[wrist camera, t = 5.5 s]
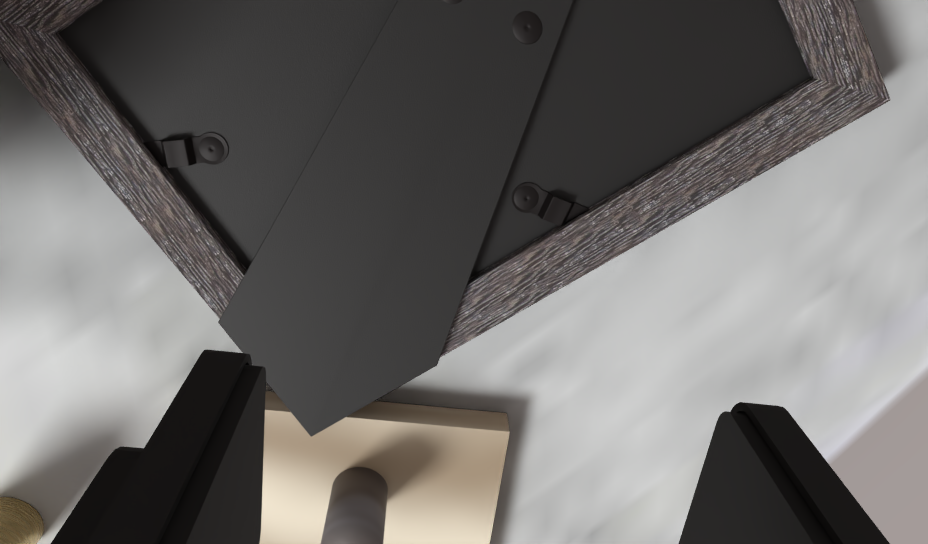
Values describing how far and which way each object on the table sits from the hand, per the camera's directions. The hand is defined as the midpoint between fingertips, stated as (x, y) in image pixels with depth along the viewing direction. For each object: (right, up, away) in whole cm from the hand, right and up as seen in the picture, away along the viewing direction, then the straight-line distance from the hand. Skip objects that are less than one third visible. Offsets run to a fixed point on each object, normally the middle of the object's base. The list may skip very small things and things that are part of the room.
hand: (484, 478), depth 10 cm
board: (-5, -9, +19) cm, 22 cm away
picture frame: (-1, +9, +13) cm, 16 cm away
